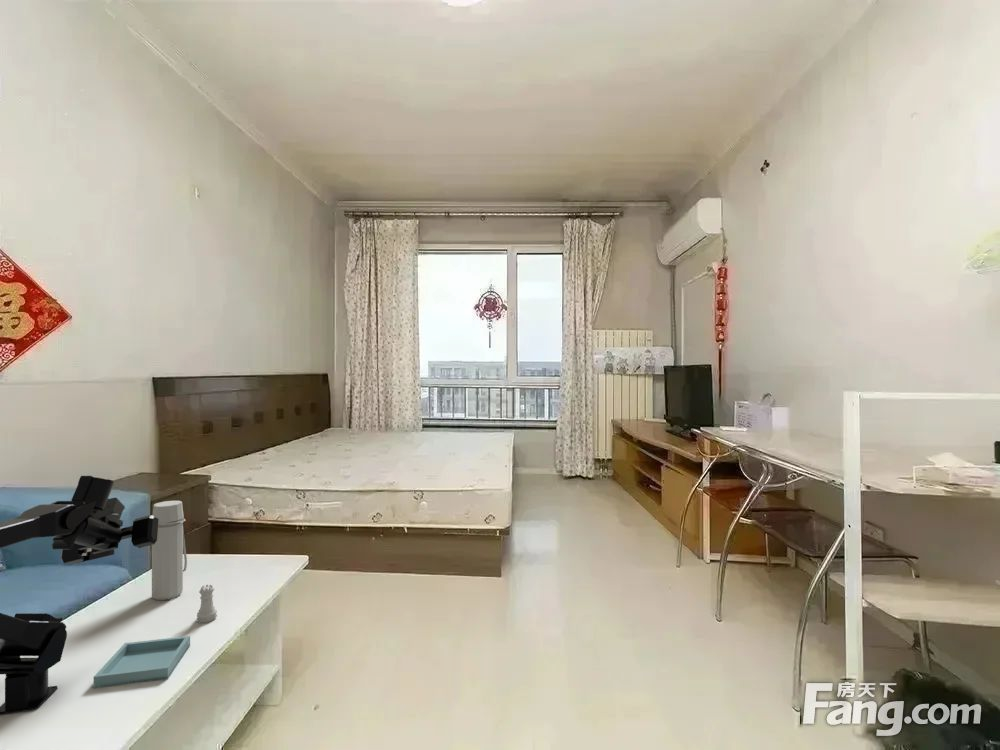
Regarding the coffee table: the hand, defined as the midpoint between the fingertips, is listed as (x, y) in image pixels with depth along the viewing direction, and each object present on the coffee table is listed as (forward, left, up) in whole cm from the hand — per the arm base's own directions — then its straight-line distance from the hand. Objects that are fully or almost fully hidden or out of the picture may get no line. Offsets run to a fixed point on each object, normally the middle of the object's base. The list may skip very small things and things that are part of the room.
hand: (134, 547), depth 121 cm
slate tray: (-19, -9, -19) cm, 28 cm away
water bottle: (+18, -1, -19) cm, 26 cm away
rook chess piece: (0, -15, -19) cm, 25 cm away
